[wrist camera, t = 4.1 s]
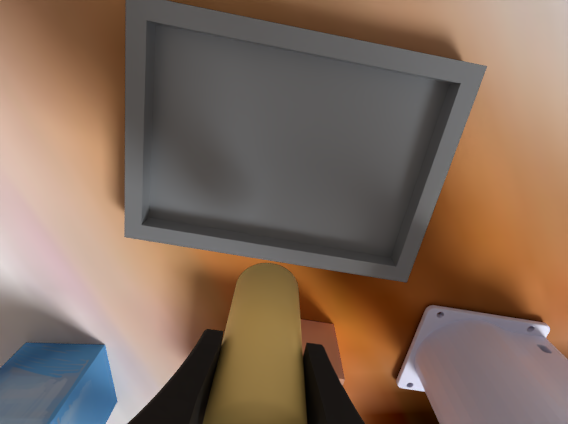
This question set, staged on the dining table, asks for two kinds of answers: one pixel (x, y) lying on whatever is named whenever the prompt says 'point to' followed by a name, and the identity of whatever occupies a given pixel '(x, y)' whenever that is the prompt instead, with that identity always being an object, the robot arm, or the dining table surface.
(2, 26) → the dining table surface
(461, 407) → the robot arm
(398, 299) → the dining table surface
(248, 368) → the dowel
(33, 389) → the perfume bottle
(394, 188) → the tray
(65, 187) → the dining table surface
